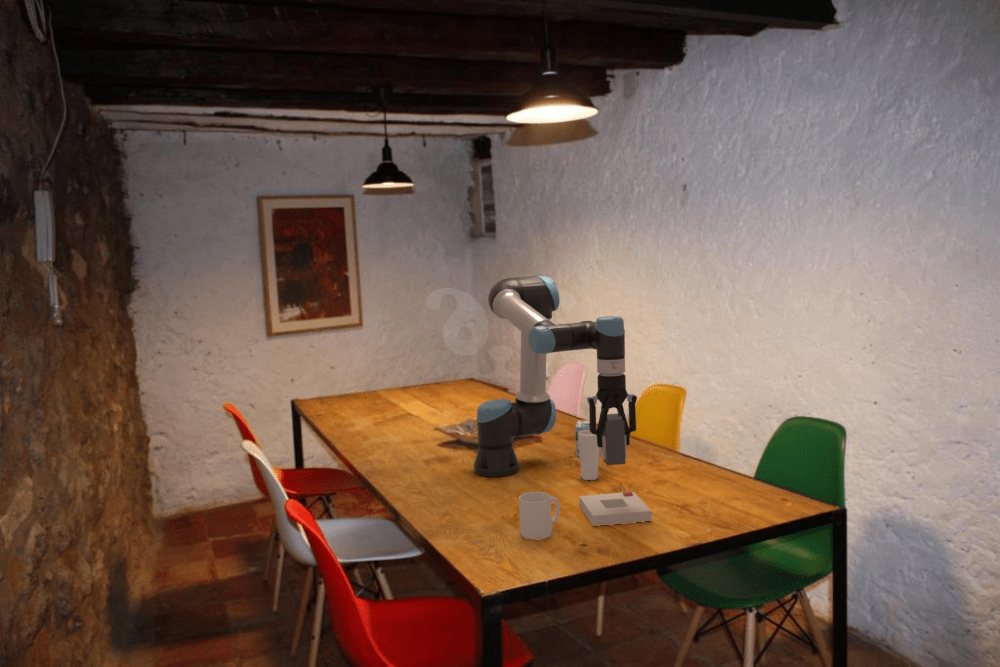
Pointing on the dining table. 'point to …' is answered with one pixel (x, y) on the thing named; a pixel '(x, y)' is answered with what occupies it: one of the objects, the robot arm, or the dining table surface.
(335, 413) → the dining table surface
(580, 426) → the light bulb box
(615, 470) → the dining table surface
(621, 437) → the plug
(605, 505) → the socket
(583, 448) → the drinking glass
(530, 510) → the cup
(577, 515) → the dining table surface
